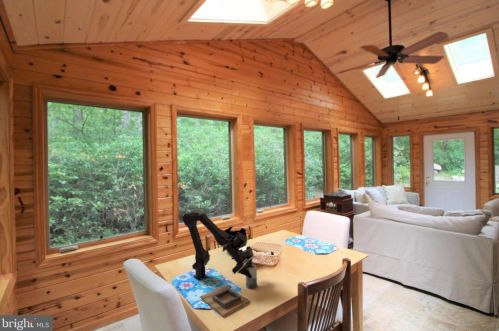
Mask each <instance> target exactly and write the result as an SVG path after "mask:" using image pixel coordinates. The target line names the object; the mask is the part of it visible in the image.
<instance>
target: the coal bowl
mask: <svg viewBox="0 0 499 331" xmlns="http://www.w3.org/2000/svg"><path fill="white" fill-rule="evenodd" d="M223 231H225V232H226V233H228V234H229V235H232V236H235V235H236V233H237V232H240V233H242V234H243V235H245V236H246V238H247V241H246V242H245V243H244V244H243V245H242V246H241V247H239V248H238V249H240V248H242V247H244V246H245V247H247V244H248V234H247V229H246V228H243V227H240V229H237V230H236V229H235V230H233V226H230V227H228V228H226V229H224V230H223ZM230 243H232V242H230ZM226 245H227V244H225V245H223V246H226ZM223 246H222V247H223Z"/></svg>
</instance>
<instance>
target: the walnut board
mask: <svg viewBox="0 0 499 331" xmlns="http://www.w3.org/2000/svg"><path fill="white" fill-rule="evenodd" d="M200 298H201V299H202V300H203V301H204V302H203V301H202V300H201V299H200ZM199 299H200V300H201V301H202V302H203V303H205V304H206V305H207V304H208V305H209V306H208V305H207V306H208V307H210V308H211V309H212V310H213V311H214V312H216V313H217V315H220V316H221V317H222V318H224V317H226V316H228V315H230V314H232V313H233V312H235V311H237V310H240V309H241V308H242V307H245V306H246V305H247V306H248V304H250V302H251V301H250V299H248V298H246V297H245V296H244V295H242V294H240V293H239V292H237V291H236V290H234V289H233V288H231V287H229V286H228V285H226V284H225V285H223V286H221V287H218V288H216V289H214V290H211V291H209V292H207V293H204V294H201V295H200V296H199Z"/></svg>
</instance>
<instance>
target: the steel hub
mask: <svg viewBox="0 0 499 331" xmlns="http://www.w3.org/2000/svg"><path fill="white" fill-rule="evenodd" d="M246 268H247V270H248V271H249V272H250V274H251V275H252V278H249V277H247V276H245V287H246V289H249V290H254V289H257V287H258V273H257V272H258V270H257V265H256V264H254V263H253V264H248V265H246Z"/></svg>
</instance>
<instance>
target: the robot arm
mask: <svg viewBox="0 0 499 331" xmlns="http://www.w3.org/2000/svg"><path fill="white" fill-rule="evenodd" d="M182 222H183V223H184V226H185V227H187V229H188V231H189V235H190V238H191V241H192V244H193V247H194V250H195V255H194V260H195V262H193V264H192V270H195V271H194V273H195V274H194V275H193V276H192V277H193V278H194V279H196V280H197V281H201V280H203V279H206V278H208V275H207V274H206V266H207V265H208V263H209V262H210V259H211V255H210V252H209V250H208V249H207V250H206V249H205V248H204V246H203V241H202V238H201V235H200V232H199V230H198V225H197V224H198V222H200V223H201V224H202V225H203V226H204V227H205V228H206V229H207V230H208V231H209V232H210V234H212V235H213V237H214V240H215V242H216V244H217V245H219V246H222V252H225V251H226V252H227V253H228V254H229V255H230V257H231V261H233V260H234V261H235V263H236V264H235V266H234V267H232V269H231V272H232V274H234V275H236V274H240V275H243V276H245V277H246V276H247V277H249V278H252V275H251V274H250V272H249V271H248V270H247V268H246V265H248V264H254V263H253V257H254V252H253V250H254V249H253V248H252V247H251V246H250V245H248V246H246V247H247V248H246V250H244V251H243V250H242V249H241V250H239V249H238V248H239V247H241V246H242V245H243V244H244V243H245V242H246V241H247V242H248V240H247V238H248V237H247V238H246V236H245V235H243V234H242V233H240V232H237V233H236V235H235V236H232V235H229V234H228V233H226V232H225V231H224V230H223V229H221V228H220V227H218V226H217V225H216V224H215V223H214V222H213V221H212V219H210V218H209V217H208V216H207V214H206V213H205V212H194V211H189V212H186V213H184V214H183V215H182ZM230 242H232V243H230ZM225 244H227V245H226V246H223V245H225ZM244 263H245V265H244Z"/></svg>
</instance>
